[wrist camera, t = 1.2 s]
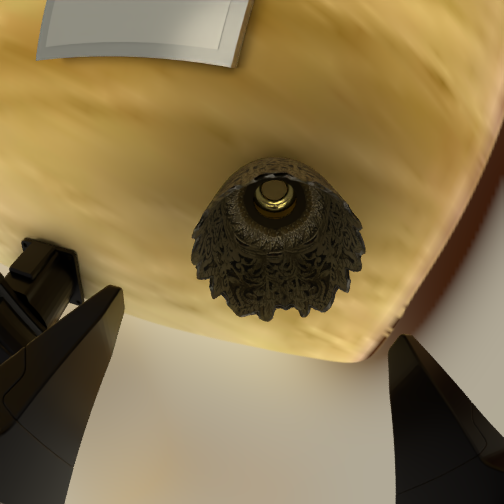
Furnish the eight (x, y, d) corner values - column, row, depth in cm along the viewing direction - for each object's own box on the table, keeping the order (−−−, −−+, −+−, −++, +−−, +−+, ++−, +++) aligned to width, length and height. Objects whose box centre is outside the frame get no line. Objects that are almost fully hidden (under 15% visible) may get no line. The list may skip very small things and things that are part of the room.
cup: (223, 240, 21) (206, 325, 15) (209, 138, 17) (173, 188, 11) (328, 235, 21) (354, 318, 14) (332, 131, 17) (375, 178, 10)
